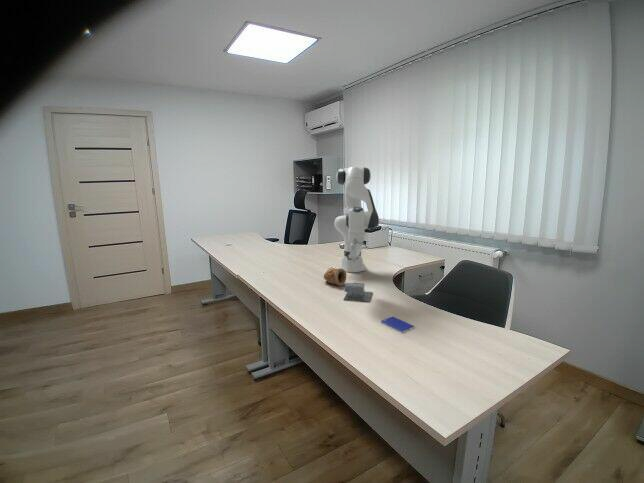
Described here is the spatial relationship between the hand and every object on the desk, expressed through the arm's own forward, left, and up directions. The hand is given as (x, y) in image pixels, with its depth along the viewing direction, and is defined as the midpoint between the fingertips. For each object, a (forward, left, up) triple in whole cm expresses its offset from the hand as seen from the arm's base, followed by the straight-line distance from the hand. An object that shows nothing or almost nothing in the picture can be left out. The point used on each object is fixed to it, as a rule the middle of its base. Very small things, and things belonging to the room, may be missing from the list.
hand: (356, 261), depth 181 cm
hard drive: (+34, +24, -20) cm, 46 cm away
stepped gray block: (+3, 0, -18) cm, 19 cm away
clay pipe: (-18, -16, -19) cm, 31 cm away
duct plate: (+3, +2, -19) cm, 19 cm away
